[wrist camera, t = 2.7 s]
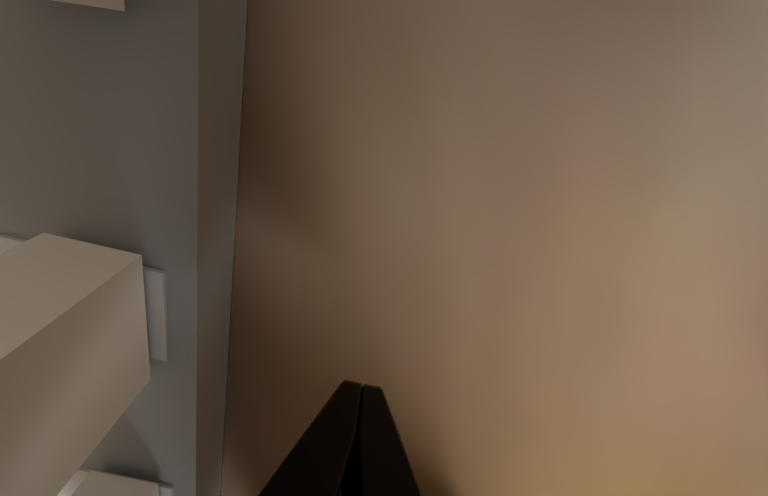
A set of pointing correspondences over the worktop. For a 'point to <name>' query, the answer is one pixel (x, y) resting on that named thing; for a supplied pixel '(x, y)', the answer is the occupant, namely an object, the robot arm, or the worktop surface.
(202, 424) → the breaker panel
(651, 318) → the worktop surface
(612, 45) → the worktop surface
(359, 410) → the robot arm
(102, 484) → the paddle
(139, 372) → the block
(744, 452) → the worktop surface
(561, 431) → the worktop surface
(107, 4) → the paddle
